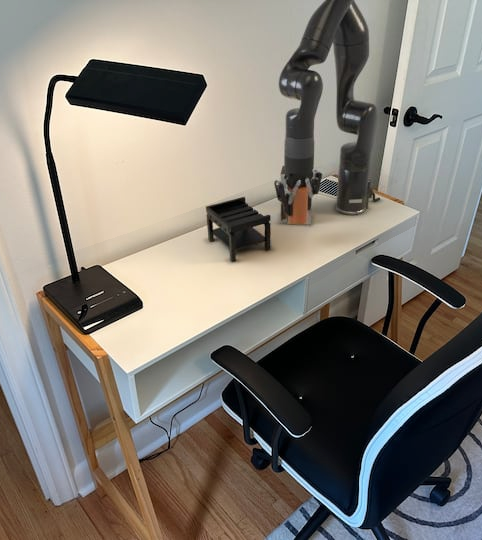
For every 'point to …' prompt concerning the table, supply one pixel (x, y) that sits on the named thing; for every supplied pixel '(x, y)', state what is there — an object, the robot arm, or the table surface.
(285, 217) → the coffee box
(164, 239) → the table surface
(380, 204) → the table surface
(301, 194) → the orange-brown cylinder
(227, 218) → the rack
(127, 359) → the table surface
